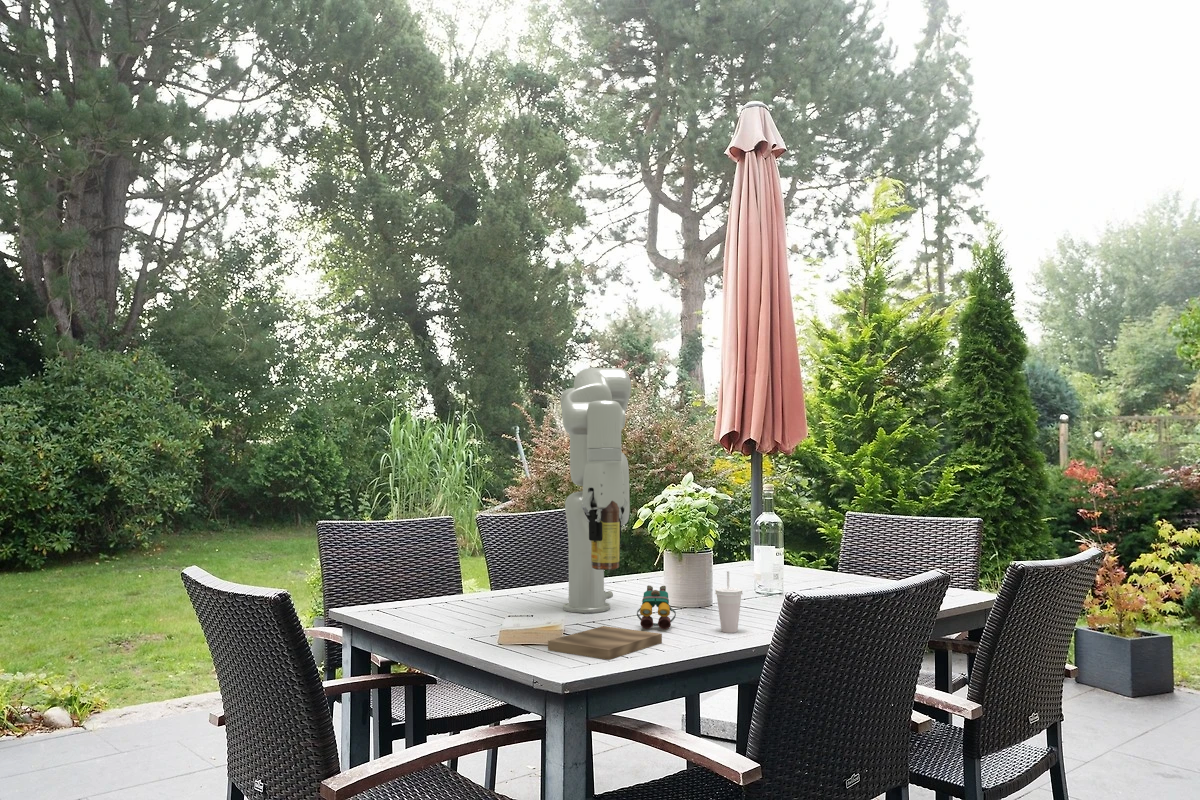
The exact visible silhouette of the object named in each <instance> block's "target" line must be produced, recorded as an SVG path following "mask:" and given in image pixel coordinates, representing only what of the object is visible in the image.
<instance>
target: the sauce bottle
mask: <svg viewBox="0 0 1200 800" xmlns="http://www.w3.org/2000/svg"><path fill="white" fill-rule="evenodd" d="M595 507H597V506H595ZM594 512H595V514H596V513H597V511H594ZM600 522H602V541H592V540H591V562H592V568H594V569H596V570H604V571H614V570H617V569H619V568H620V561H621V560H620V555H621V554H620V545H621V544H620V542H621V538H620V521H619V507H618V505H617V503H616V502H614V501H613V500H612V501H611V503H610V504H609V505H608V506H607V507H606V508H604V509H603V511H602V515H601V519H600Z"/></svg>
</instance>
